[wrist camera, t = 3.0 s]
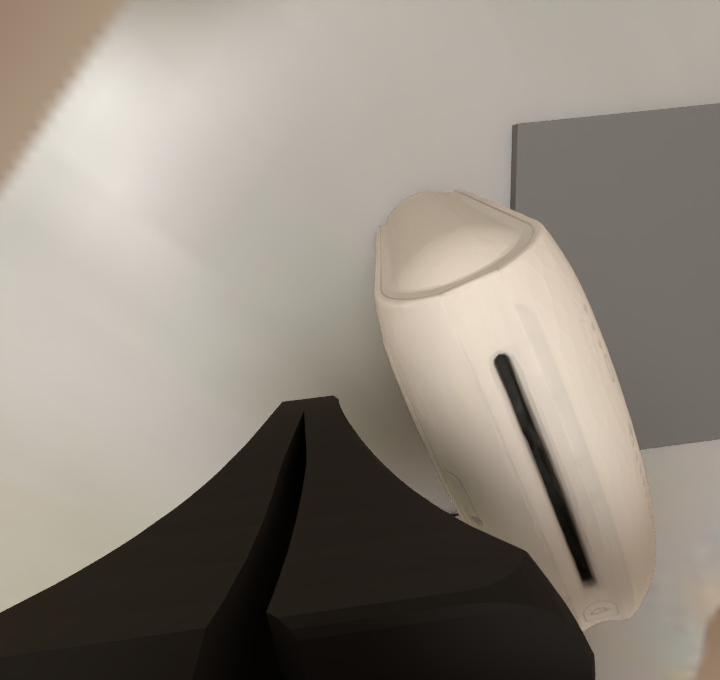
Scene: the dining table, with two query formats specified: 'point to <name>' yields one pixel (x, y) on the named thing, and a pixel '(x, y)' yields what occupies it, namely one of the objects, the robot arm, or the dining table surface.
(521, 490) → the photo printer
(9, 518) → the dining table surface
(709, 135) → the rubber mat
